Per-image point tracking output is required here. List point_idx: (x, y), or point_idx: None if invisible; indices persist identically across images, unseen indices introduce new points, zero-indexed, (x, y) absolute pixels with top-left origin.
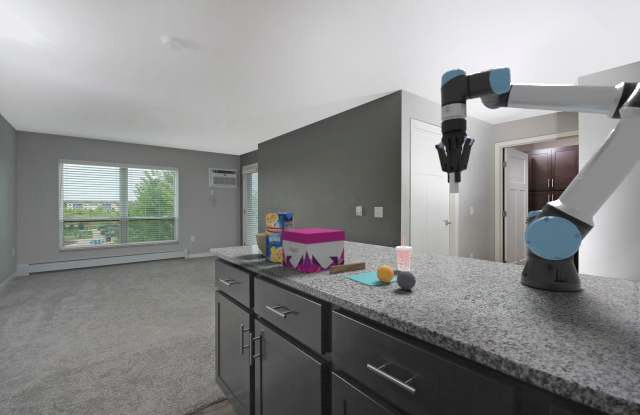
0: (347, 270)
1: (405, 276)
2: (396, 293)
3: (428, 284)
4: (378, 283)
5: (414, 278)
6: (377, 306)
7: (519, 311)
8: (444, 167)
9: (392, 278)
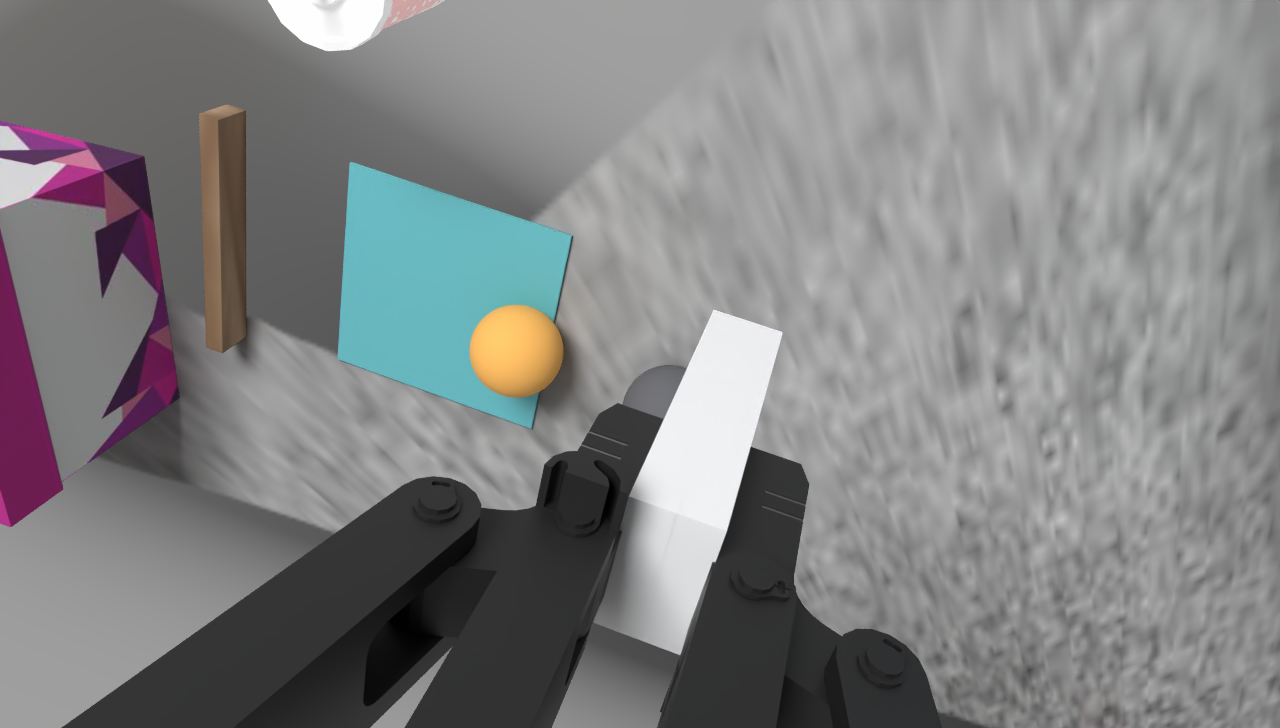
0: (242, 244)
1: None
2: None
3: (721, 233)
4: None
5: None
6: None
7: (1216, 425)
8: (423, 668)
9: (560, 336)
